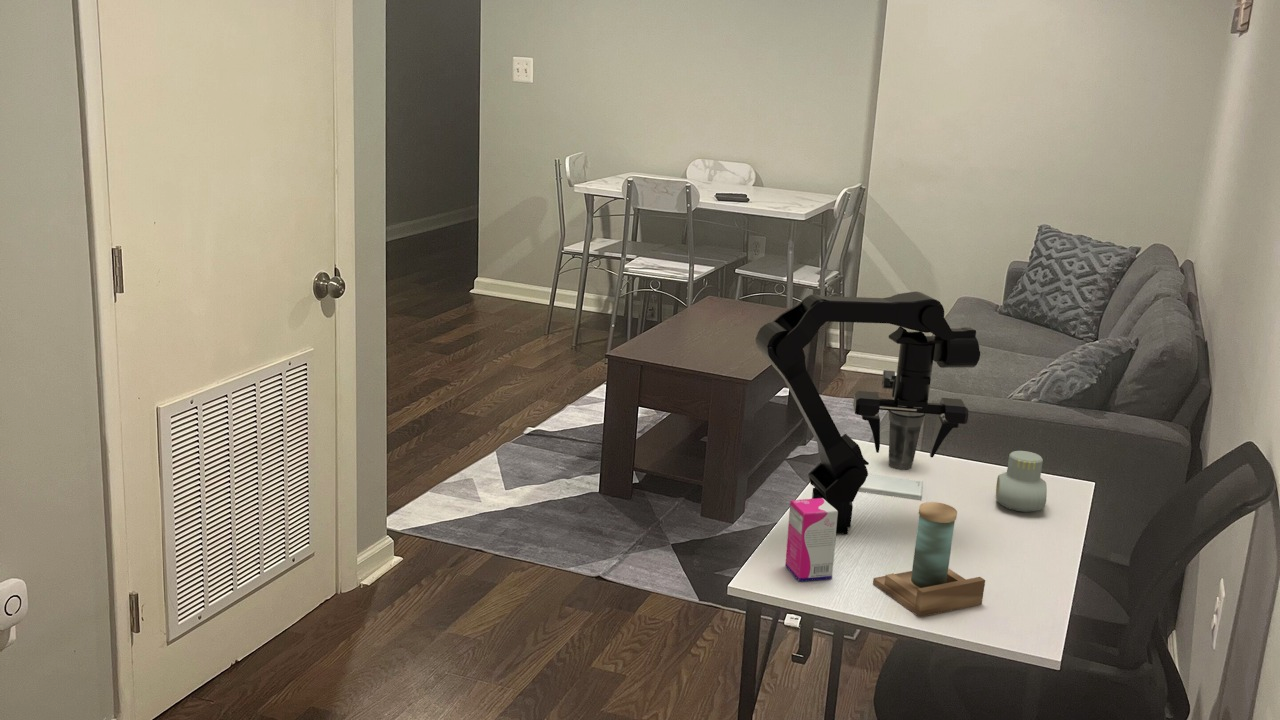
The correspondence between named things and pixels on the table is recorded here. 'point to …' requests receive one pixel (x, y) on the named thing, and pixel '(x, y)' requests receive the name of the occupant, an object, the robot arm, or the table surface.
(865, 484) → the hard drive
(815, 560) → the supplement box
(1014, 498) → the air freshener
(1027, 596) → the table surface
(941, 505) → the oak spool
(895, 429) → the beverage cup
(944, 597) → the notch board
